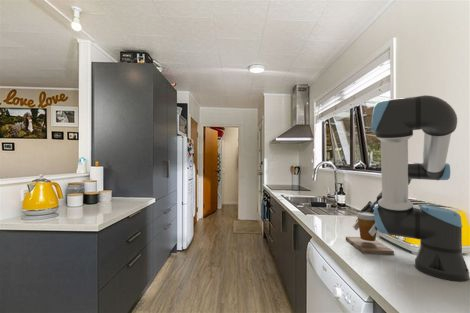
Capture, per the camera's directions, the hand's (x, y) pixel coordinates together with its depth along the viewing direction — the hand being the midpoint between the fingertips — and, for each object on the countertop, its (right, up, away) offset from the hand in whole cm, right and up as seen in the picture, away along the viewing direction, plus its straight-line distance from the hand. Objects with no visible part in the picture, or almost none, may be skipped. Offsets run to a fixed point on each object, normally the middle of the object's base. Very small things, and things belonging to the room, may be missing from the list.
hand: (362, 231), depth 113 cm
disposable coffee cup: (+3, -4, +1) cm, 5 cm away
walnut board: (+3, -7, +1) cm, 8 cm away
